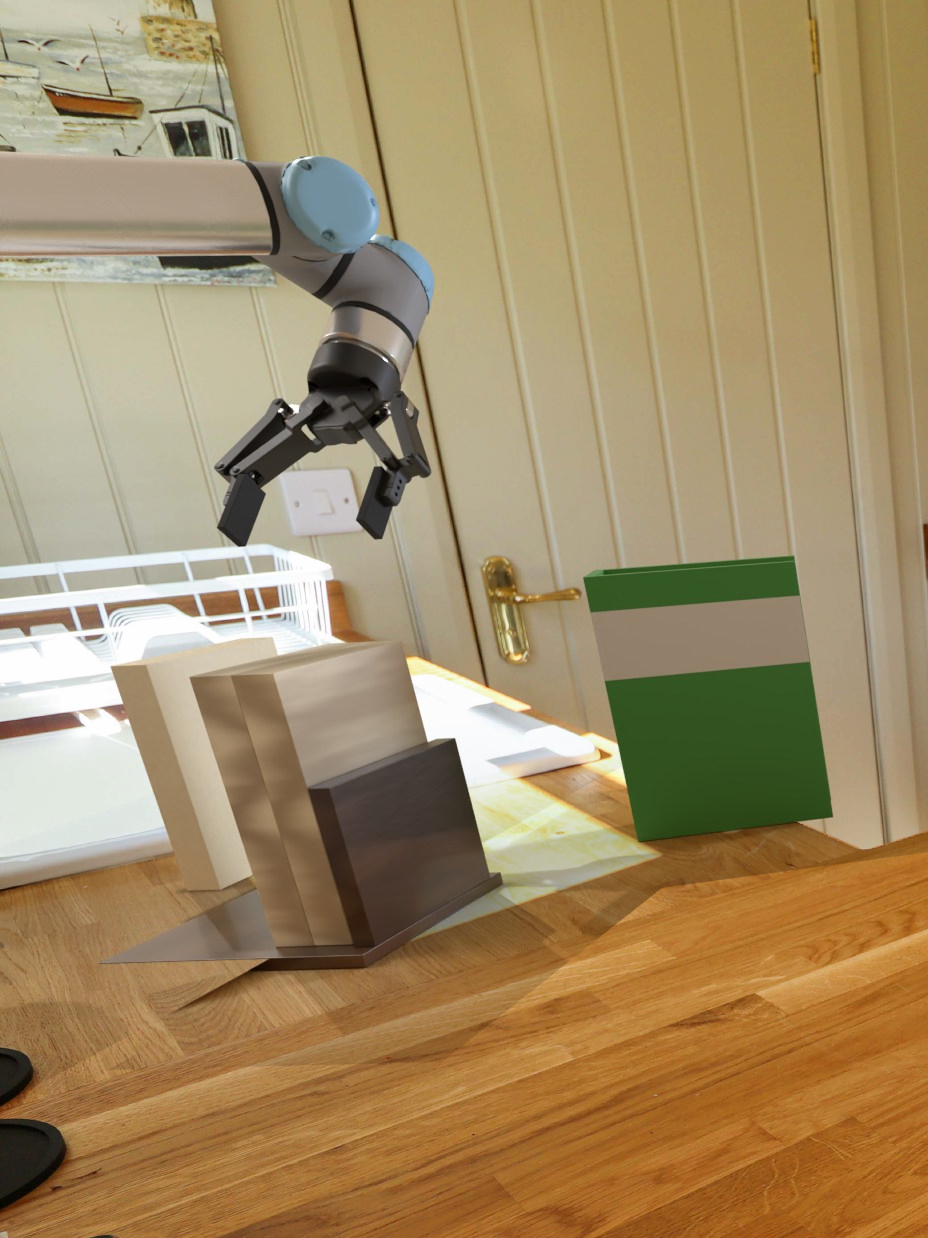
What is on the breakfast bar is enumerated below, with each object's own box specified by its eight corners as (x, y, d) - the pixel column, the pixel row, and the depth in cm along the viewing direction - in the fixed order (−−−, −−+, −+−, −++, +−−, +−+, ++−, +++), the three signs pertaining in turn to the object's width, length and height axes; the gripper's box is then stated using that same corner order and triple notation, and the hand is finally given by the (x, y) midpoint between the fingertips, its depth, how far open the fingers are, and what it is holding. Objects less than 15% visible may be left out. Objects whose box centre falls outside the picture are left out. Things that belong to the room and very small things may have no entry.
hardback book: (831, 798, 128) (794, 555, 120) (833, 817, 122) (794, 561, 113) (646, 820, 124) (594, 569, 116) (638, 841, 117) (583, 577, 109)
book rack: (102, 975, 92) (-5, 689, 85) (279, 890, 109) (202, 645, 102) (365, 967, 91) (279, 677, 84) (503, 882, 108) (441, 634, 101)
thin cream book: (190, 900, 107) (109, 666, 101) (305, 849, 121) (241, 638, 114) (223, 899, 107) (145, 664, 100) (335, 848, 120) (272, 636, 114)
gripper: (499, 389, 131) (450, 553, 122) (269, 403, 132) (205, 565, 123) (456, 329, 124) (401, 498, 115) (214, 345, 125) (142, 513, 116)
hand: (299, 533), depth 119 cm, fingers open, 13 cm apart
